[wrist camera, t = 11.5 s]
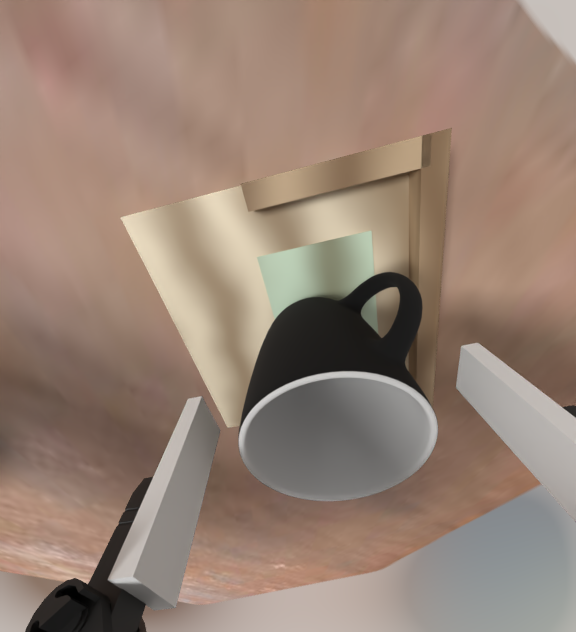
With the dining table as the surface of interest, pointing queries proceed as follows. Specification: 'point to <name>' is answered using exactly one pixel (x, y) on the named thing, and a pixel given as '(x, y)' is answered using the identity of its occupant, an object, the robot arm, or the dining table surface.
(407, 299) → the mug
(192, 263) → the board
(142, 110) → the dining table surface
